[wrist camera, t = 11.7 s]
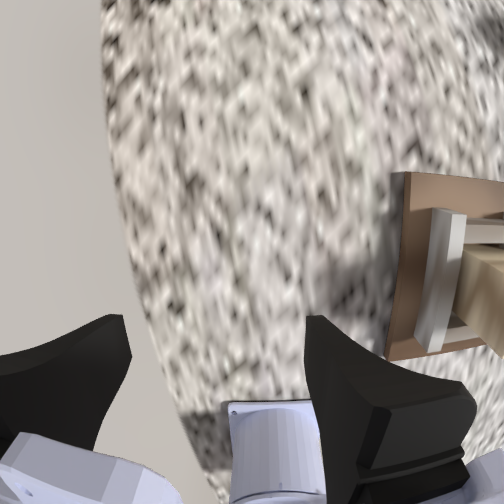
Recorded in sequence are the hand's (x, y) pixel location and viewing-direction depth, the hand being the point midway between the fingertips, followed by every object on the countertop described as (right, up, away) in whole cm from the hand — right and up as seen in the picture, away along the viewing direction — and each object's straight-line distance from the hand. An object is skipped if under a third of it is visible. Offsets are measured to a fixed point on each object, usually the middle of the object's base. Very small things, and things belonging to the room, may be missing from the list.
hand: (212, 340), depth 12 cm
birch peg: (+18, +2, +8) cm, 19 cm away
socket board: (+18, +2, +9) cm, 20 cm away
